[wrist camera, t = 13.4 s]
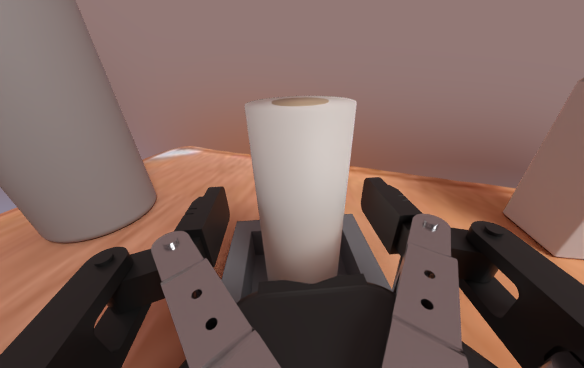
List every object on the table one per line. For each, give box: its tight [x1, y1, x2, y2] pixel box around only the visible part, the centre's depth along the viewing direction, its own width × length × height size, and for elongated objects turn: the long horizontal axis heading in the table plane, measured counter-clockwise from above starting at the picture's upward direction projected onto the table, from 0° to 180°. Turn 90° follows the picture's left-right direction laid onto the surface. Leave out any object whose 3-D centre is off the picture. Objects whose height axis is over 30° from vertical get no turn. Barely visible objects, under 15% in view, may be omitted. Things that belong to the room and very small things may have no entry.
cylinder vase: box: [0, 0, 156, 243], centre depth 23 cm, size 12×12×25 cm
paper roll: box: [245, 96, 357, 284], centre depth 13 cm, size 5×5×14 cm
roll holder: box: [221, 214, 392, 303], centre depth 16 cm, size 13×16×4 cm
